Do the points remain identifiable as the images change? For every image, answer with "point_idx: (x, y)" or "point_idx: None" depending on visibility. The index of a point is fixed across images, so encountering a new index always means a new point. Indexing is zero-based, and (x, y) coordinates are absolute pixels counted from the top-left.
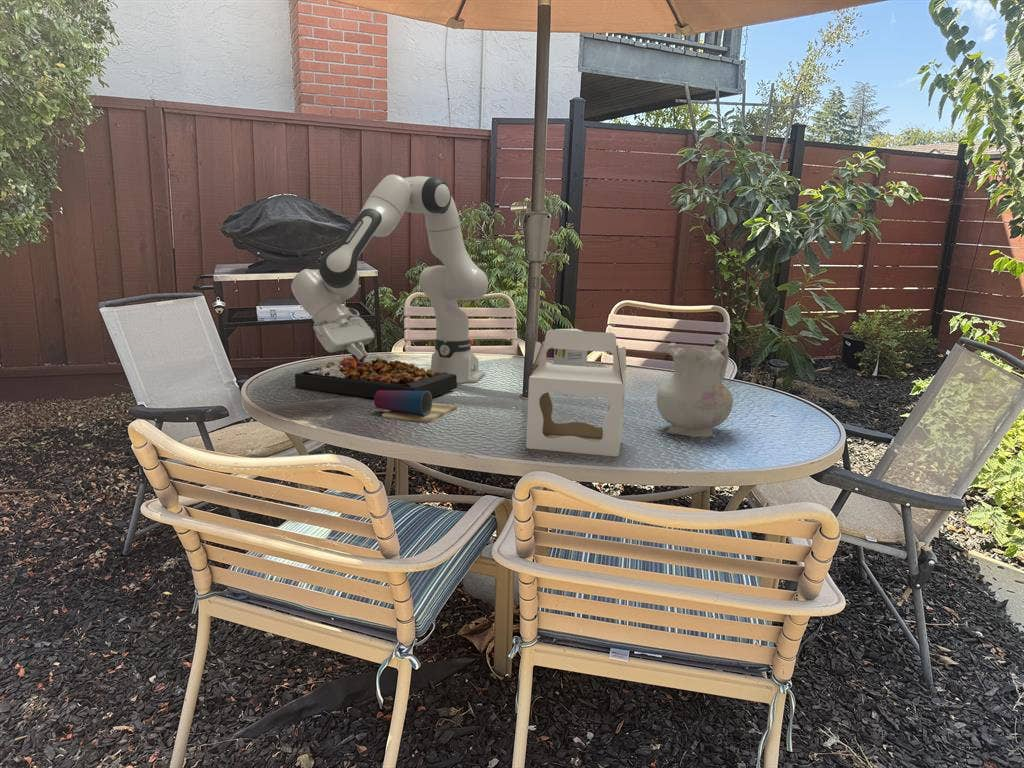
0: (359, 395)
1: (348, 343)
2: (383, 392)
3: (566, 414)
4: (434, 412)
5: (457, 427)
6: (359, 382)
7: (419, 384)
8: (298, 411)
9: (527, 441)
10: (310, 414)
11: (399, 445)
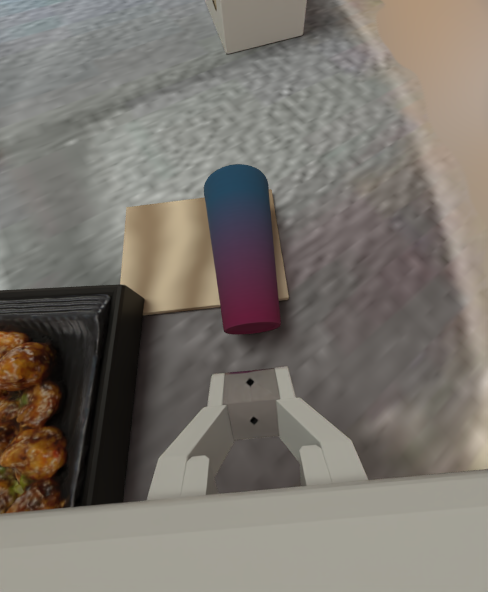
0: None
1: (437, 476)
2: (263, 293)
3: (88, 71)
4: (205, 212)
5: (263, 142)
6: None
7: (66, 301)
8: None
9: (304, 20)
10: None
11: (432, 150)
